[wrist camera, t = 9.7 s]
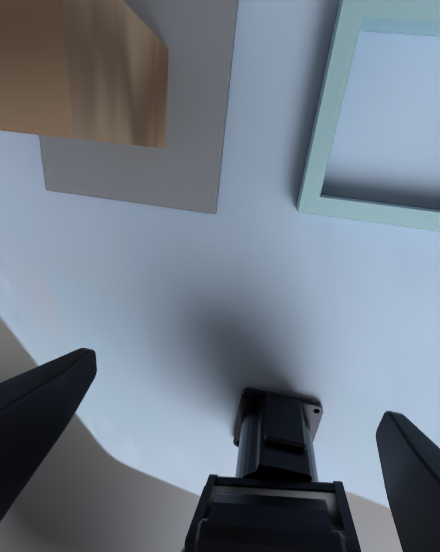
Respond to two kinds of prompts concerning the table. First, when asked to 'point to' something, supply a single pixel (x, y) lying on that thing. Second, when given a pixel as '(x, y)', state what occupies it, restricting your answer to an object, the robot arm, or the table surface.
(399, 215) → the pocket frame
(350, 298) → the table surface
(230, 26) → the pad
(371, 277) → the table surface
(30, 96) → the oak block
